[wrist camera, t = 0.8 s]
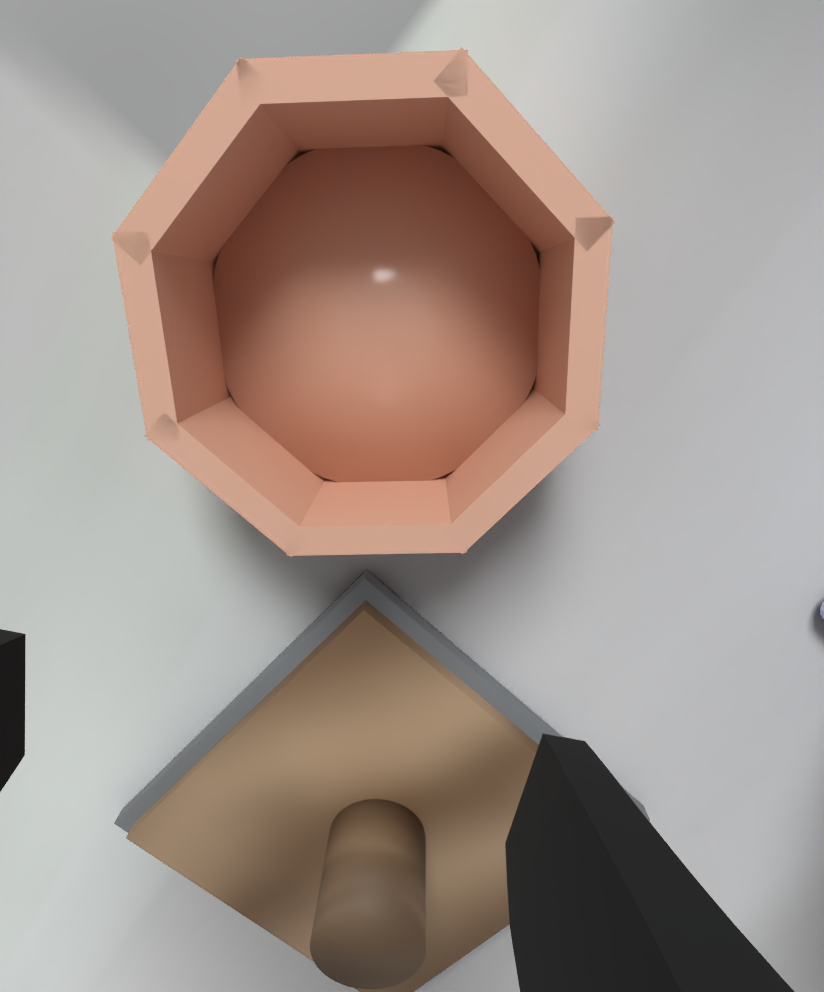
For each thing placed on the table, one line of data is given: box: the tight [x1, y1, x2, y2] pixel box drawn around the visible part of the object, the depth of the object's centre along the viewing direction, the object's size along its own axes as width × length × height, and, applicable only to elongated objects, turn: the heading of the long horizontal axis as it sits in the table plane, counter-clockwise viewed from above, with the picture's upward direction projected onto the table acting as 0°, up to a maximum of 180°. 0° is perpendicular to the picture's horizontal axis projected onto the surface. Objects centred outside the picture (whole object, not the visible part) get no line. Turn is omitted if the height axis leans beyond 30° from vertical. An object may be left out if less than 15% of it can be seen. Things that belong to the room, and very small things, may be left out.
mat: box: [114, 570, 649, 833], centre depth 21 cm, size 13×13×1 cm
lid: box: [126, 601, 539, 992], centre depth 18 cm, size 12×12×4 cm
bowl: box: [111, 47, 615, 557], centre depth 14 cm, size 10×10×4 cm
